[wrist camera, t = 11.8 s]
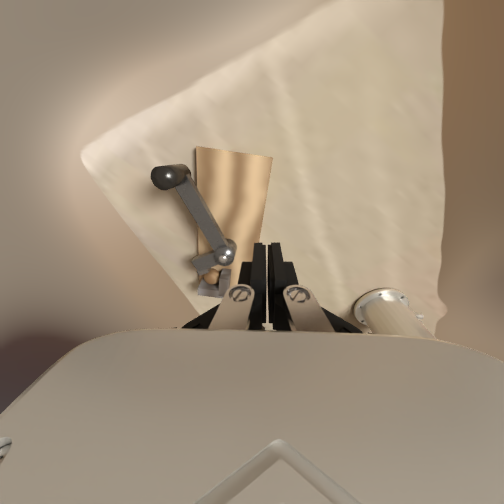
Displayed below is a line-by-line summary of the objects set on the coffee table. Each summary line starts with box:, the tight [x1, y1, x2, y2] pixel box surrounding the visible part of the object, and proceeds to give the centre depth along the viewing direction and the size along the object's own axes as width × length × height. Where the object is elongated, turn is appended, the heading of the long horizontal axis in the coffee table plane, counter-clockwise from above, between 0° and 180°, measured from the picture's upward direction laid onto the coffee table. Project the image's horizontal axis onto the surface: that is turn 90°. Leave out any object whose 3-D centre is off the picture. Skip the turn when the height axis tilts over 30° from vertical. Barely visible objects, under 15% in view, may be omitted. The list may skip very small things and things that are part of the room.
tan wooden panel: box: [196, 146, 273, 298], centre depth 36 cm, size 13×30×5 cm, turn 173°
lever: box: [151, 164, 237, 276], centre depth 32 cm, size 10×20×8 cm, turn 24°
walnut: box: [204, 268, 220, 284], centre depth 40 cm, size 4×4×4 cm
